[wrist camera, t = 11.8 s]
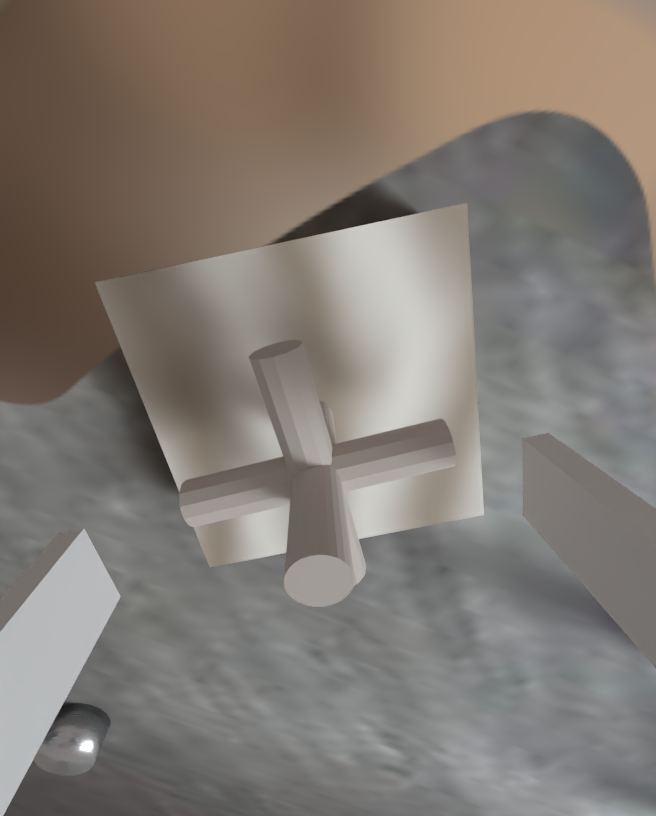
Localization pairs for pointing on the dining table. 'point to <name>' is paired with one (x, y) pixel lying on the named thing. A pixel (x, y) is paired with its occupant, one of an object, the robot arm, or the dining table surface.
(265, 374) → the pipe connector
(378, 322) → the stand
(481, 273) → the dining table surface
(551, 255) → the dining table surface
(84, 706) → the round metal puck
